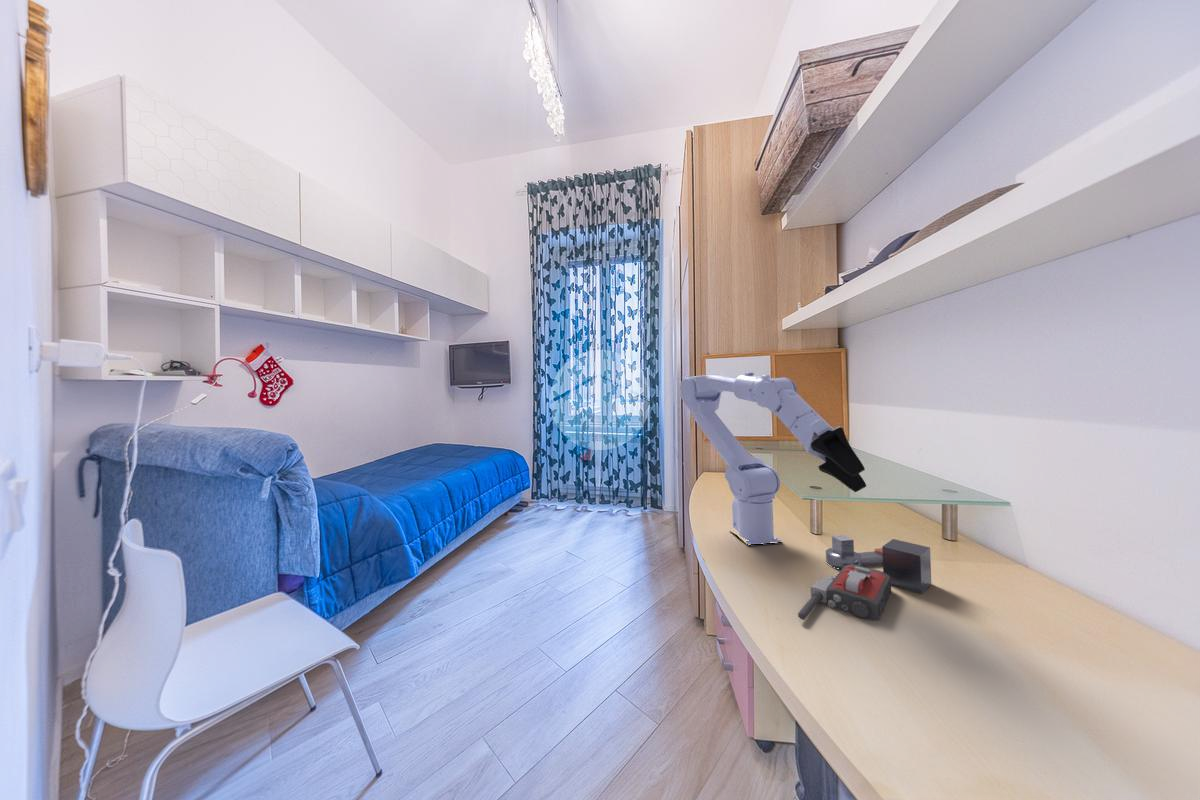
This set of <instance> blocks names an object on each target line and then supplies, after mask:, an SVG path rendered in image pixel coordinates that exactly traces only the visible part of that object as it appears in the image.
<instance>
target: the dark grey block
mask: <svg viewBox="0 0 1200 800" xmlns="http://www.w3.org/2000/svg"><path fill="white" fill-rule="evenodd" d="M881 548H882V552H883V564H882V572H885V573H886V574H887V575H888V576H889V577H890V578H891V586H894V587H898V588H901V589H905V590H908V591H910V592H913V593H917V594H920V595H922V594H923V593H924V592H926V590H927V589H928V588H929V587H930V586H931V585H932V567H931V566H932V563H931V559H932V558H931V547H929V546H925V545H921V544H917V543H913V542H908V541H903V540H899V539H894V538H893V539H891V540H890V541H888V542H887V543H885V544H884V545H882V547H881Z"/></svg>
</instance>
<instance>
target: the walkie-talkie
mask: <svg viewBox="0 0 1200 800" xmlns="http://www.w3.org/2000/svg"><path fill="white" fill-rule="evenodd" d="M891 594H892V585H891V578H890V577H889V576H888V575H887V574H886V573H885V572H883V570H878V569H875V568H870V567H868V566H858V565H854V564H850V565H846V566H844V567H843V568H842V569H841V570H839V572H838V573H837V575H836V576H823V577H820V578H819V579H818V580H817V581H816V582H815V583H814V584H812V585H811V586H810V599H808V601H806V603H805V604H804V605H803V606H802V608H801V609H800V610H799V612H798V613H797V617H798V618H799V619H800V620H803V621H805V620H806V618H808V617H809V615H810V613H811V612H812V611H813V610H814V608H815V607H816V606H817V605H818V603H820V602H821V603H824V604H826V605H827V606H828V607H829V608H831V609H832V608H835V609H838V610H840V611H844V612H847V613H850V614H854V615H856V616H857V617H859V618H863V619H864V618H865V619H868V620H872V621H879V619H880V617H881V615H882V613H883V611H884V610H885V607H886V604H887V602H888V599H889V598H890V595H891Z"/></svg>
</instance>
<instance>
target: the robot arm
mask: <svg viewBox="0 0 1200 800" xmlns="http://www.w3.org/2000/svg"><path fill="white" fill-rule="evenodd" d="M679 385H680V386H679V391H680V399H681V400H682V401H683V403H684V405H685V406H686V407H687V408H688V410H689V411H690V413H691V416H692V418H693V419H694V421H695V422H696V424H697V425H698V427H699V428H700V429H701V431H702V432H703V434H704V435H705V436H706V438H707V439H708V441H709V442H710V443H711V445H712V446H713V447H714V449H715V450H716V452H717V453H718V454H719V456H720V457H721V459H722V460H723V461H724V463H725V464H726V466H727V467H726V469H725V472H724V479H725V480H726V481H727V483H728V485H729V490H730V491H731V493H732V495H733V496H734V498H733V500H732V504H731V511H732V512H731V514H732V516H731V517H732V528H735V529H736V530H737V531H738V532H739V535H740V536H741V537H743V538H745V539H747V540H749V541H746V543H747V544H761V543H770V542H781V541H783V539H781V538H780V537H778V538H779V539H780V540H778V538H776V539H774V535H775V530H774V526H775V525H774V510H773V509H774V507H773V505H774V504H773V503H774V502H773V500H774V499H776V494H777V493H778V492H779V490H780V488H781V478H780V476H779V474H778V473H777V471H776V470H775V469H774V468H773V467H771V466H769V465H767V464H766V463H765V462H764V460H762V459H760V458H758V457H755V456H752V455H750V454H749V453H748V452H747V450H746V449H745V447H743V445H742V444H741V443H740V442H739V441H738V439H737V438H736V437H735V435H734V434H733V433H732V432H731V430H730V429H729V427H728V426H727V425H726V424H725V423H724V421H723V420H722V419H721V418H720V417H719V416H718V414H717V413H716V411H717V410H718V409H719V407H720V401H721V396H722V393H724V392H730V393H733V395H734V396H735V398H737V399H739V400H742V401H743V400H744V401H747V402H752V403H756V404H757V405H758V406H759V407H762V408H766V409H767V410H769V412H771V413H773V414H774V415H775V416H776V417H777V418H778V419H779V420H780V422H782V423H783V425H785V428H787V429H788V430H789V431H790V432H791V434H792V435H793V436H794V437H795V438H796V439H797V440H798V442H800V444H801V445H802V446H803V447H804V448H805V451H806V452H807V453H808V454H810V455H812V456H814V457H816V458H819V459H820V460H821V462H823V463H822V464H820V465H818V466H817V467H818V470H819V471H820V472H822V473H824V474H827V475H828V476H831V477H833V478H835V479H836V480H838V481H839V482H840V483H842V484H843V485H844V486H845V487H847V488H848V489H849V490H850V491H853V493H857V492H859V491H861V490H863V489H865V488H867V484H866V482H865V480H864V478H863V477H862V476H861V474H860V473H862V472H864V471H865V466H864V465H863V463H862V461H861V460H860V458H859V457H858V456H857V454H856V452H855V450H853V448H852V447H851V445H850V442H849V441H848V439H847V436H846V434H845V431H844V427H842V426H837V427H836V428H835V427H832V426H831V425H830V424H829V423H828V422H827V421H826V420H825V419H824V418H823V417H822V416H821V415H820V414H819V413H818V412H816V410H814V408H813V407H812V406H811V405H809V403H808V402H806V401H805V399H804V398H803V397H802V396H801V395H800V394H798V388H797V385H796V383H795V382H794V381H793V380H792V379H790V378H788V377H785V376H781V377H777V378H776V377H774V378H773V377H771V375H769V374H763V375H755V373H754V372H753V371H752V372H750V371H748V372H745V373H744V374H740V375H738V376H737V377H736V378H735V377H730V376H726V375H720V374H711V375H708V374H707V375H695V376H694V375H693V376H685V377H683V378H682V380H681V382H680V384H679ZM747 544H746V545H747Z"/></svg>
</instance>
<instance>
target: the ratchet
mask: <svg viewBox="0 0 1200 800" xmlns="http://www.w3.org/2000/svg"><path fill="white" fill-rule="evenodd" d="M831 545H832V546H831V547H830V548H827V549H826V550H825V563H826V562H827V563H828V564H829V565H831V566H833V567H835V568H839V569H842V568H843V567H844V566H846V565H850V564H854V565H858V566H863V567H869V565H870V566H879V564H881V565H883V552H882V547H879V548H874V551H865V552H856V551H855V549H854V548H855V543H854V539H853V538H851V537H849V536H847V535H844V534H842V535H841V534H840V535H832V536H831ZM827 563H826V564H827ZM828 564H827V565H828ZM829 565H828V566H829ZM831 566H830V567H831ZM833 567H832V568H833ZM835 568H834V569H835Z"/></svg>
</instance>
